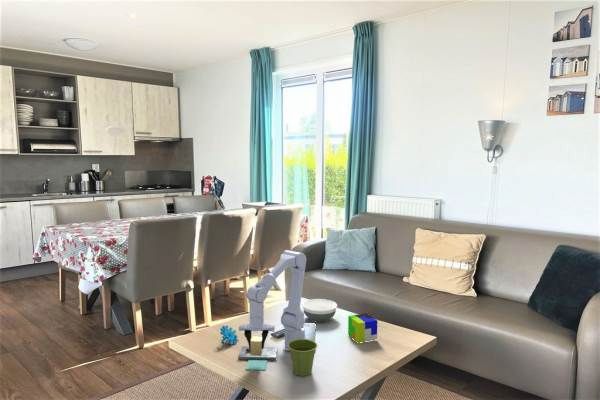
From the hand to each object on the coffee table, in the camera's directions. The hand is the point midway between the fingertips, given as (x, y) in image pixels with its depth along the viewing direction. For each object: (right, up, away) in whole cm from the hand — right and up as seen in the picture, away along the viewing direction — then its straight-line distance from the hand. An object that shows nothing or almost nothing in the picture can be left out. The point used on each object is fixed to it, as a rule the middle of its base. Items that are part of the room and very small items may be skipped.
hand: (256, 347), depth 171 cm
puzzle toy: (+48, -6, +28) cm, 56 cm away
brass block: (0, -2, 0) cm, 2 cm away
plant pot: (+19, -8, -4) cm, 21 cm away
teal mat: (0, -8, +1) cm, 8 cm away
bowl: (+28, -3, +51) cm, 59 cm away
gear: (-15, -6, +23) cm, 28 cm away
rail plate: (0, -7, +10) cm, 12 cm away
